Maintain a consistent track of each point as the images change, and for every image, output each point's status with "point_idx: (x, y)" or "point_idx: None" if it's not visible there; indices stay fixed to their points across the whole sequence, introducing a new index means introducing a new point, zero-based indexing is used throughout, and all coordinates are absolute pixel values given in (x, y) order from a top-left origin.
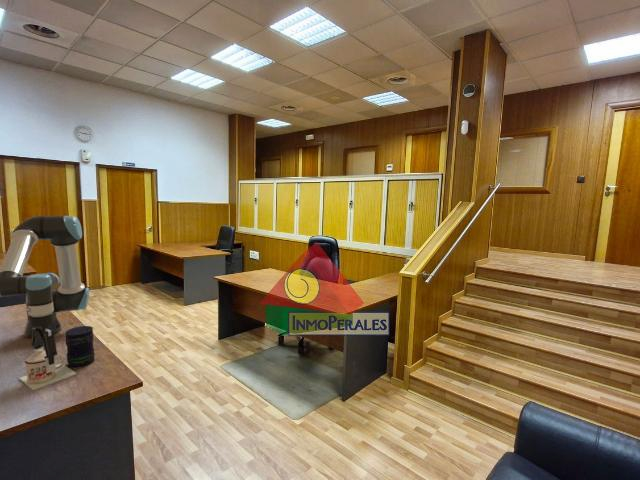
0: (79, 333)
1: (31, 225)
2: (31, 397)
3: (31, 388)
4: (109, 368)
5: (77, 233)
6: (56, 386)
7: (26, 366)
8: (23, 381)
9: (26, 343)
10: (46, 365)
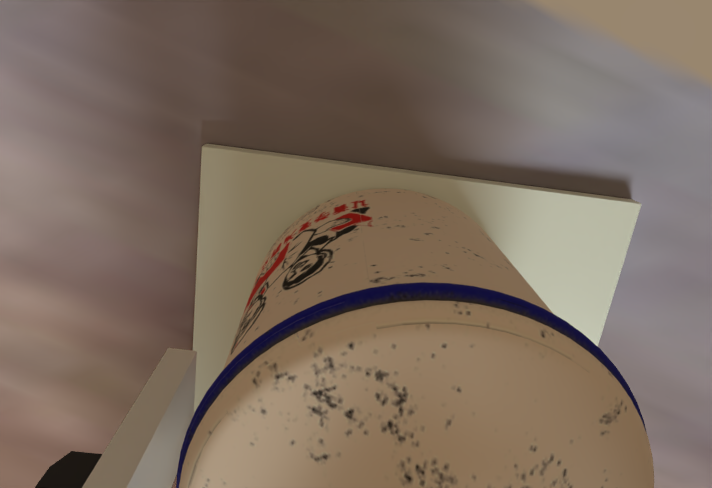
0: None
1: None
2: (57, 59)
3: (259, 151)
4: None
5: None
6: (94, 299)
7: (447, 264)
8: (512, 186)
9: None
10: (130, 423)
